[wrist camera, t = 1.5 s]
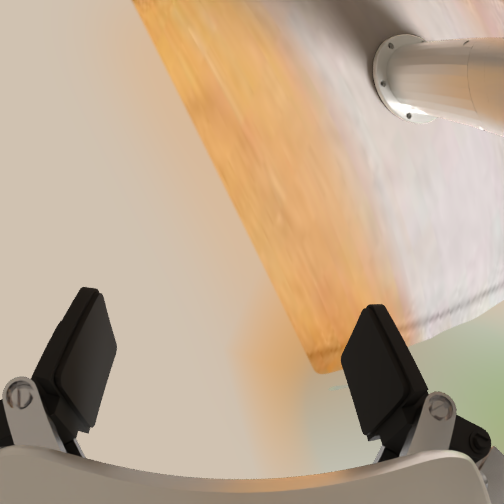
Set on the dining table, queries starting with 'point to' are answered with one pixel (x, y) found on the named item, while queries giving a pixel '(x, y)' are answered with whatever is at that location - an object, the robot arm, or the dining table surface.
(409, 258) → the dining table surface
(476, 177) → the dining table surface
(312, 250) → the dining table surface
